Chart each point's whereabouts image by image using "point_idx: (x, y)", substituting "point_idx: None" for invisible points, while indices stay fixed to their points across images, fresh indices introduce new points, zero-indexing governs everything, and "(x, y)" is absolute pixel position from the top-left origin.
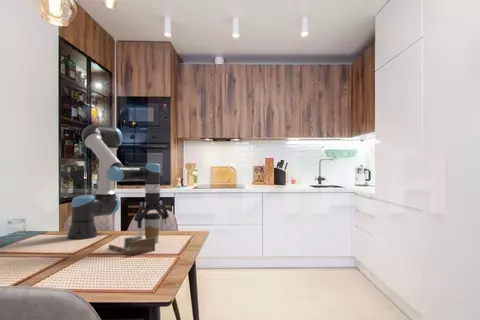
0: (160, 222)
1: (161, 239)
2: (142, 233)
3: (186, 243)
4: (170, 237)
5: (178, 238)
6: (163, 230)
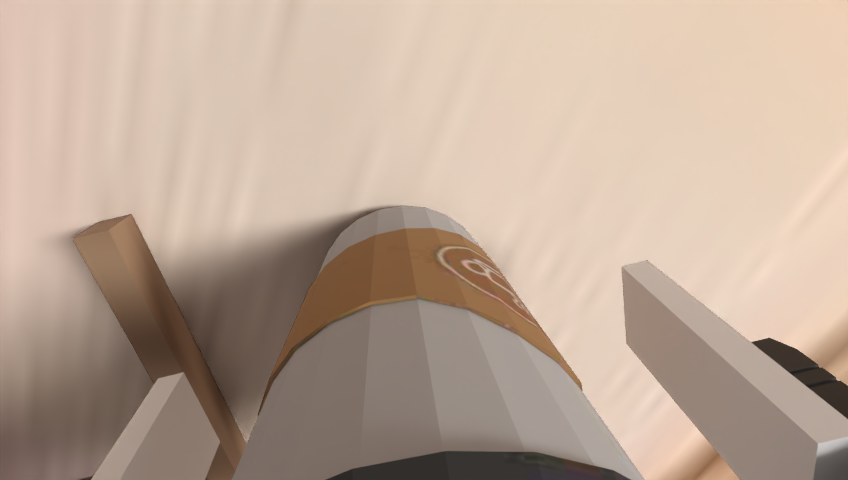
0: (727, 365)
1: (601, 163)
2: (205, 460)
3: (676, 475)
4: (773, 107)
5: (795, 232)
6: (635, 349)
